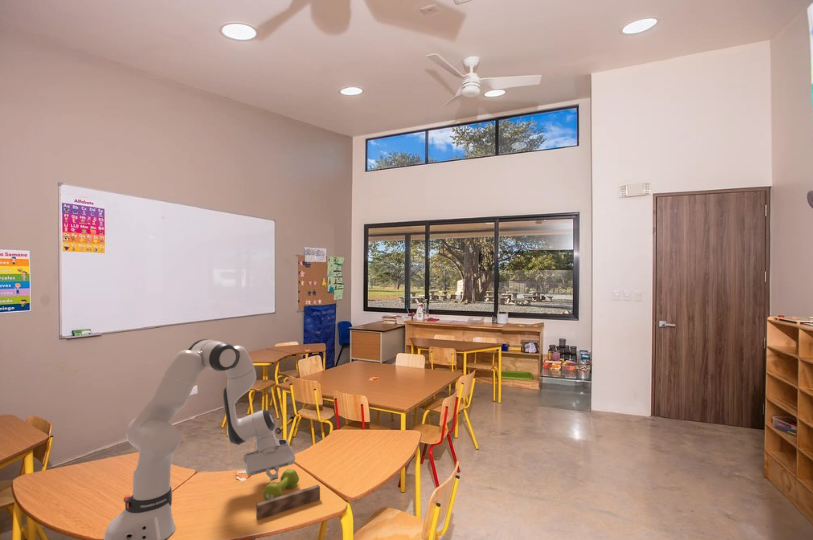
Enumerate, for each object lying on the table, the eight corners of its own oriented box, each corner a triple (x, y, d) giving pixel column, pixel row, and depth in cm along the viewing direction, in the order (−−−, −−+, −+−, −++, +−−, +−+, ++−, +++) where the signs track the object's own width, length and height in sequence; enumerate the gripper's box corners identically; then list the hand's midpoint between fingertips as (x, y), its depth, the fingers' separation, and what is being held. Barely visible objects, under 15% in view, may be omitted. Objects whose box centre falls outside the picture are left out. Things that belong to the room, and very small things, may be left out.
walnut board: (257, 520, 149) (257, 506, 149) (256, 517, 151) (256, 503, 151) (320, 499, 163) (319, 486, 163) (318, 497, 164) (317, 484, 165)
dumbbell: (278, 506, 158) (278, 487, 158) (260, 504, 160) (260, 485, 161) (300, 486, 174) (300, 469, 174) (284, 484, 176) (284, 467, 176)
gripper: (243, 450, 172) (250, 483, 164) (291, 439, 184) (299, 469, 175) (241, 457, 175) (247, 490, 167) (288, 446, 187) (296, 476, 179)
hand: (274, 479), depth 171 cm, fingers closed
